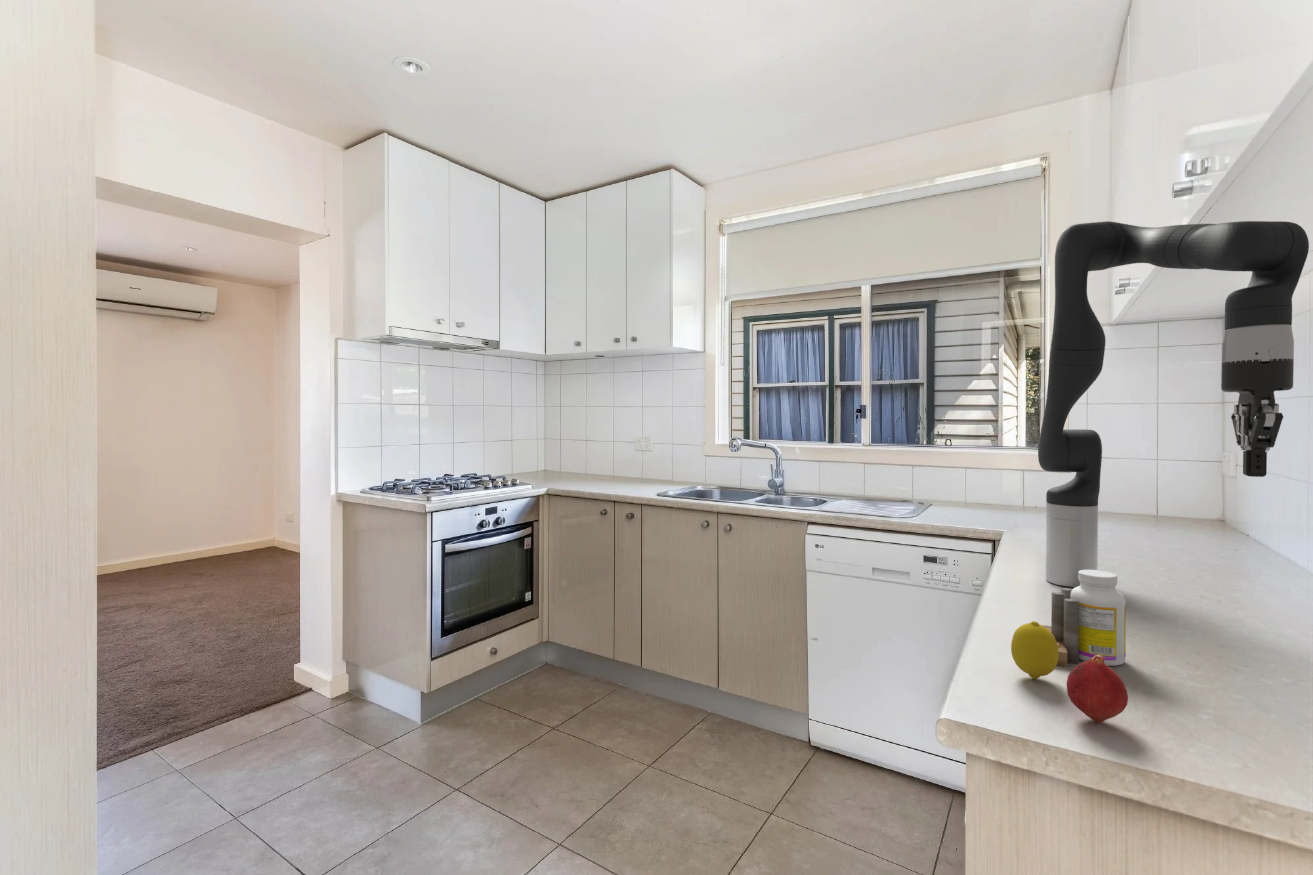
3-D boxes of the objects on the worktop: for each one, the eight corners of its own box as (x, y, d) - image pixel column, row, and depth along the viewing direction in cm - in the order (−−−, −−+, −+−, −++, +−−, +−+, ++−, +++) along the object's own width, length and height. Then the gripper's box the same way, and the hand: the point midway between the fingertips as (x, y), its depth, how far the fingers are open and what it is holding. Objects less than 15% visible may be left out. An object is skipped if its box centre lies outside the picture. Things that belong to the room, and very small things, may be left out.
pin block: (1029, 635, 99) (1030, 581, 99) (1073, 641, 96) (1073, 586, 96) (1031, 660, 89) (1031, 600, 88) (1080, 668, 86) (1080, 606, 85)
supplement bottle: (1092, 647, 93) (1093, 566, 93) (1136, 664, 87) (1137, 576, 87) (1059, 652, 92) (1059, 569, 91) (1101, 670, 85) (1102, 580, 85)
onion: (1067, 725, 70) (1068, 658, 70) (1064, 705, 75) (1065, 642, 75) (1130, 739, 67) (1131, 668, 67) (1123, 717, 72) (1124, 651, 72)
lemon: (1047, 672, 85) (1048, 616, 84) (1065, 689, 79) (1066, 629, 79) (1004, 669, 86) (1005, 613, 86) (1019, 686, 80) (1020, 627, 80)
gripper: (1210, 363, 96) (1208, 471, 96) (1236, 356, 85) (1234, 479, 85) (1275, 361, 92) (1273, 473, 92) (1311, 353, 81) (1309, 481, 81)
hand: (1254, 476), depth 89 cm, fingers closed
